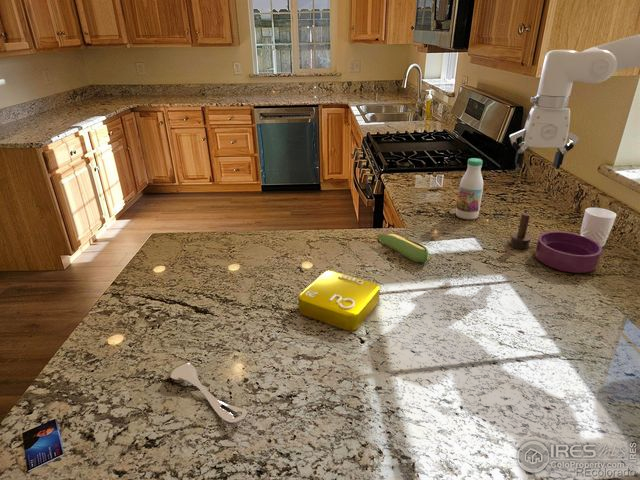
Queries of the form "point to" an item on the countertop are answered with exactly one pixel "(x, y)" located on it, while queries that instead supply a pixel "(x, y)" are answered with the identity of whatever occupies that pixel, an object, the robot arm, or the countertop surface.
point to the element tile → (339, 300)
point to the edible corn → (405, 247)
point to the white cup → (597, 224)
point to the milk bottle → (470, 191)
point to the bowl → (568, 251)
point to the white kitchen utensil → (207, 392)
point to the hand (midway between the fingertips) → (537, 166)
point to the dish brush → (521, 234)
